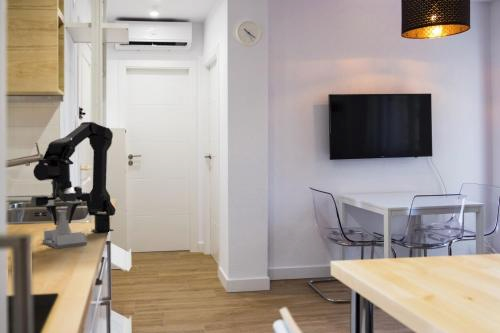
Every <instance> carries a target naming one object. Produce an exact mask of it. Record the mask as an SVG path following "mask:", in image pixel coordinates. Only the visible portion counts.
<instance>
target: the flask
mask: <svg viewBox="0 0 500 333" xmlns="http://www.w3.org/2000/svg"><path fill="white" fill-rule="evenodd" d="M56 214H57V225H55V228H54V230H55V232H54V235H58V234H66V233H73V232H72V229H71V227H70V224H69V223H68V216H67V209H66V210H65V209H64V210H57V211H56ZM54 235H53V238H52V241H54Z"/></svg>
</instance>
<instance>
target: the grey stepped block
mask: <svg viewBox="0 0 500 333" xmlns="http://www.w3.org/2000/svg"><path fill="white" fill-rule="evenodd" d="M54 232H55V229H49V230H43V239H42V243H43V244H45V245H48V246H49V247H52V248H54V249H63V248H71V247H79V246H87V244H88V243H87V241H86V234H85V233H86V232H82V231H78V232H77V231H75V232H72V233H66V234H58V235H54ZM53 235H54V241H52V238H53Z"/></svg>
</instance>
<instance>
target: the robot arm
mask: <svg viewBox="0 0 500 333" xmlns="http://www.w3.org/2000/svg"><path fill="white" fill-rule="evenodd" d="M113 136H114V134H113V131H112V130H111V128H109V127H105V126H104V125H100V124H98V123H97V122H94V121H83V122H81V123H80V125H79V126H77V127H76V128H75V129H73V131H71V132H70V133H68V134H67V135H66V136H64V137H62V138H57V139H55V140H52V141H51V142H49V143H48V145H47V146H48V147H47V148H46V151H45V152H44V155H43V157H42V159H38V163H37V164H36V165H35V166H34V168H33V176H34V177H35V179H36V180H37V181H40V182H41V181H50V184H51V185H52V193H51V196H49V197H48V196H47V195H42V194H41V195H33V196H32V197H31V199H30V205H32V206H36V207H38V206H39V207H41V206H42V207H45V209H46V210H47V212H48V214H49V215H50V217H51V220H52V223H53V224H54V225H55V226H56V225H57V221H58V217H57V211H56V210H57V205H56V204H55V203H57V202H58V203H59V202H60V203H61V202H63V203H66V206H67V208H66V210H67V212H66V216H67V222H68V224H69V225H70V224H71V222H72V220H73V217H74V214H75V212H76V209H77V208H78V207H79V206H80V205H81V204H82V203H86V207H87V212H88V216H94V217H93V219H94V220H93V221H94V228H92V229H91V231H92V232H95V233H99V234H100V233H107V232H113V231H114V229H113V228H111V217H113V216H115V214H116V208H115V207H114V205H113V203H112V201H111V195H110V193H109V192H108V190H107V168H108V167H107V166H108V161H107V160H108V151H109V149H110V148H111V147H112V146H111V145H112V143H113ZM86 139H89V145H90V147H91V149H92V150H93V161H92V162H93V163H92V165H93V166H92V189H91V190H90V192H83V188H82V186H81V185H77V186H74V187H73V185H72V184H73V182H72V181H71V173H70V172H71V170H70V167H71V166H70V165H73V164H74V161H72V160H71V159H70V158H71V157H72V156H73V155H74V153H75V152H76V147H77V146H79V145H80V144H81V143H82V142H83V141H84V140H86ZM80 201H81V202H80Z"/></svg>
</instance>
